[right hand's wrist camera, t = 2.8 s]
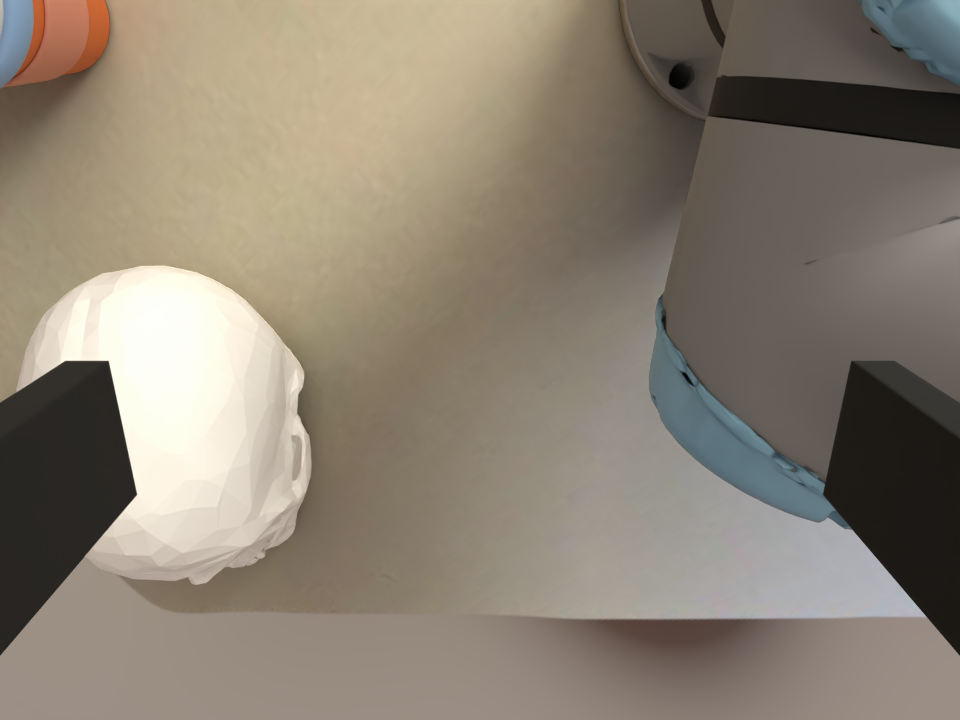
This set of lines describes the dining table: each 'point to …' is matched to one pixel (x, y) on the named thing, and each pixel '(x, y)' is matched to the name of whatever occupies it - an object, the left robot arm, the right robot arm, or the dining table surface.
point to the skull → (187, 418)
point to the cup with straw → (50, 38)
